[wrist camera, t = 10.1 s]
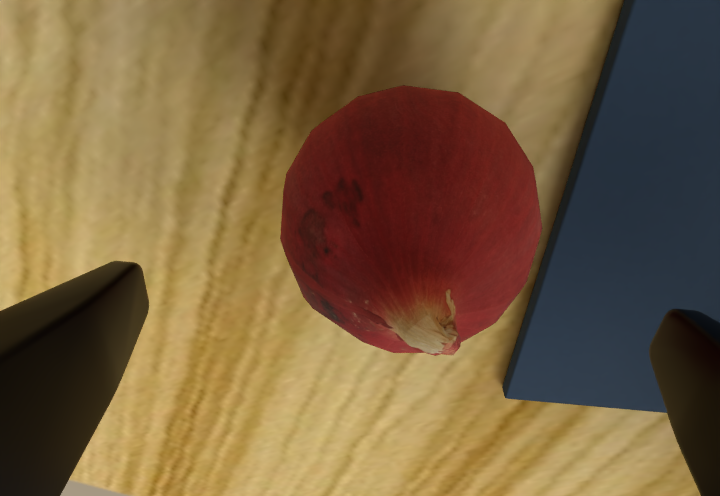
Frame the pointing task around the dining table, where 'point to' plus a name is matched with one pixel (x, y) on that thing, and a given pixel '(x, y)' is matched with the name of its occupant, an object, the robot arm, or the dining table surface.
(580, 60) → the dining table surface
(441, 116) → the onion
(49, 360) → the robot arm
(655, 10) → the mat
